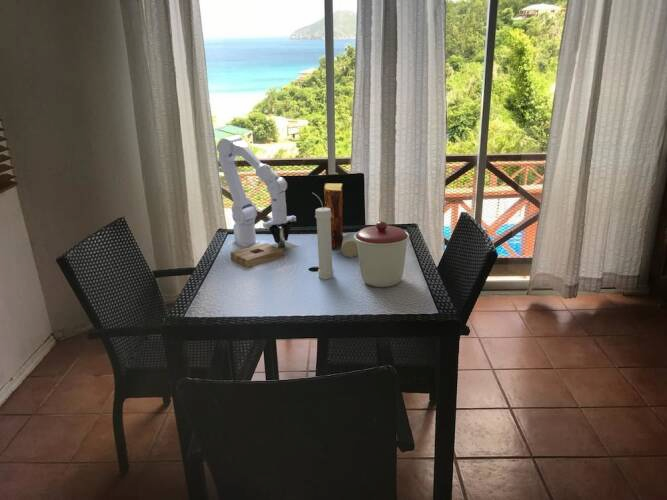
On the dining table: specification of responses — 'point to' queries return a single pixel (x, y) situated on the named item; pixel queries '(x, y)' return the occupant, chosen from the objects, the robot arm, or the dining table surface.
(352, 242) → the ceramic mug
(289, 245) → the mat
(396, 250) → the canister
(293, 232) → the dining table surface
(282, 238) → the peg
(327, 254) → the white tall cylinder
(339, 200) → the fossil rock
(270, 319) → the dining table surface
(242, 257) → the block
